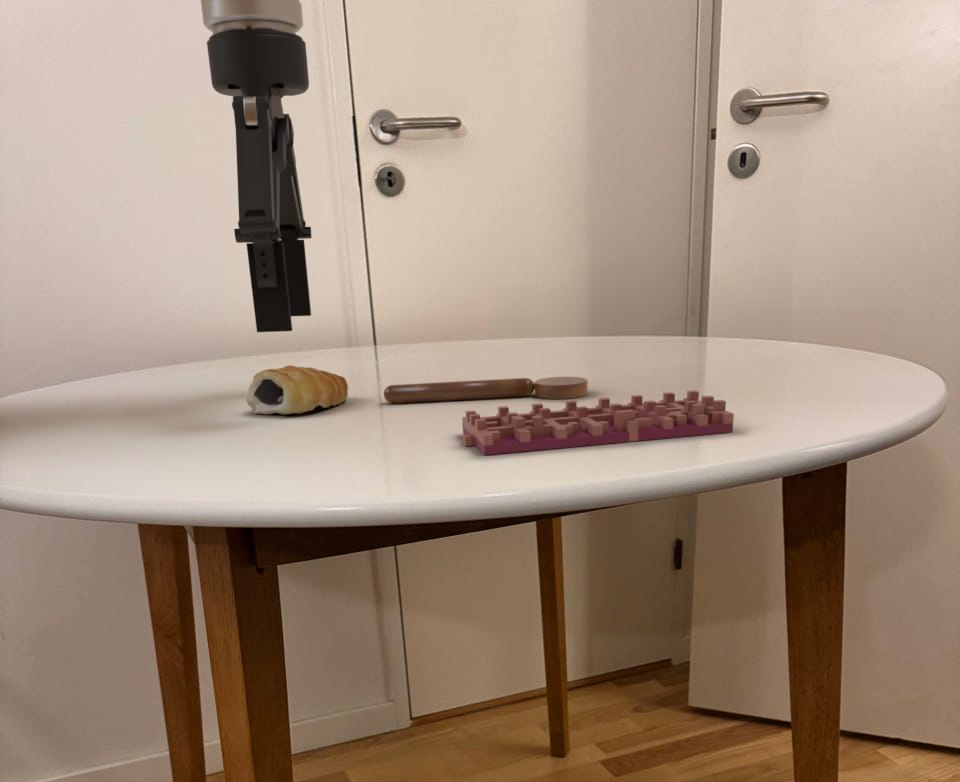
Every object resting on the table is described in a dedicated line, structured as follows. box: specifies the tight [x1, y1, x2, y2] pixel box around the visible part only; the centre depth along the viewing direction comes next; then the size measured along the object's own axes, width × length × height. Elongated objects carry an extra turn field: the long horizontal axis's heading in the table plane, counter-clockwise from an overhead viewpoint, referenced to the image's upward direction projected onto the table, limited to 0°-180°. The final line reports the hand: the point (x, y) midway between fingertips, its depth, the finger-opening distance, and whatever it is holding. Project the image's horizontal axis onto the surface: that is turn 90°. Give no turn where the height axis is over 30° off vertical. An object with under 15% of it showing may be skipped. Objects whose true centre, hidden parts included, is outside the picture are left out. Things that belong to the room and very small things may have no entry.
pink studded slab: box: [461, 390, 735, 456], centre depth 68 cm, size 7×19×2 cm, turn 103°
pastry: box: [245, 365, 349, 416], centre depth 83 cm, size 9×7×4 cm
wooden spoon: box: [383, 376, 589, 404], centre depth 84 cm, size 18×5×2 cm, turn 93°
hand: (286, 323), depth 81 cm, fingers open, 13 cm apart
